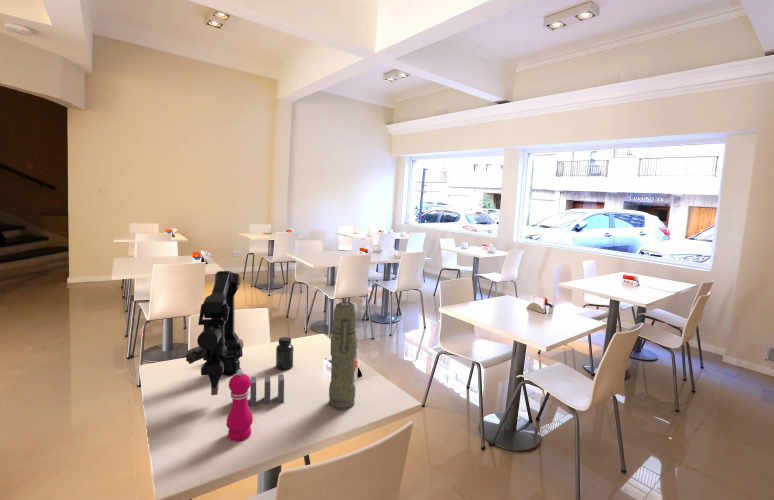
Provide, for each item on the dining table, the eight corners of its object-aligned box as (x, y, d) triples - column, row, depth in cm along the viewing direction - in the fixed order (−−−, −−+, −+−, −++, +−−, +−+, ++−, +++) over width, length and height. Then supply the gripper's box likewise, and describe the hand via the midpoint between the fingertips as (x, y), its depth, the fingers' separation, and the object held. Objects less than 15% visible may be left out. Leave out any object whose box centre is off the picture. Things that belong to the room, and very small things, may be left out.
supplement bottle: (285, 362, 173) (285, 334, 171) (296, 366, 169) (297, 338, 167) (272, 367, 167) (272, 339, 166) (283, 372, 163) (283, 343, 162)
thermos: (351, 393, 148) (355, 299, 143) (357, 410, 136) (361, 308, 132) (327, 395, 145) (329, 299, 141) (330, 412, 134) (334, 308, 130)
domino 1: (211, 395, 132) (211, 371, 131) (212, 388, 137) (212, 365, 136) (217, 394, 132) (217, 371, 131) (218, 387, 137) (218, 365, 136)
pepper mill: (230, 428, 123) (230, 364, 120) (255, 428, 123) (255, 364, 121) (223, 442, 115) (222, 374, 113) (249, 442, 116) (249, 375, 114)
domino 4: (278, 403, 139) (278, 380, 138) (277, 396, 143) (278, 374, 142) (283, 402, 139) (284, 380, 138) (283, 395, 144) (283, 374, 143)
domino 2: (250, 405, 136) (250, 383, 135) (250, 398, 141) (250, 376, 140) (256, 405, 137) (256, 382, 136) (256, 398, 141) (256, 376, 140)
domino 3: (264, 404, 137) (264, 381, 136) (264, 397, 142) (264, 375, 141) (270, 404, 138) (270, 381, 137) (269, 397, 143) (270, 375, 142)
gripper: (191, 330, 139) (192, 374, 141) (182, 350, 121) (182, 400, 123) (227, 328, 142) (227, 371, 144) (222, 348, 124) (222, 396, 126)
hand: (215, 384), depth 134 cm, fingers closed on domino 1, 5 cm apart
